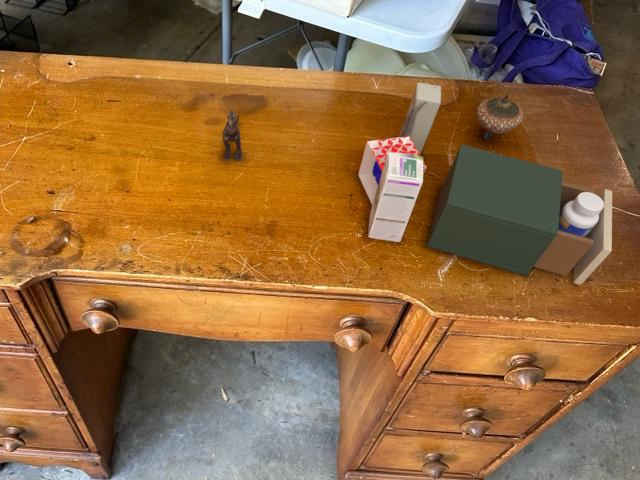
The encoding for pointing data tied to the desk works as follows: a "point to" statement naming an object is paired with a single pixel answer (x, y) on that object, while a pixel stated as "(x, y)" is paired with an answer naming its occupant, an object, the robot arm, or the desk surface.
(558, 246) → the drawer
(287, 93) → the desk surface
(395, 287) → the desk surface
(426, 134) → the box
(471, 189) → the cabinet
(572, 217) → the pill bottle
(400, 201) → the syrup box
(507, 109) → the acorn
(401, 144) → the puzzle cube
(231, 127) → the dinosaur model
